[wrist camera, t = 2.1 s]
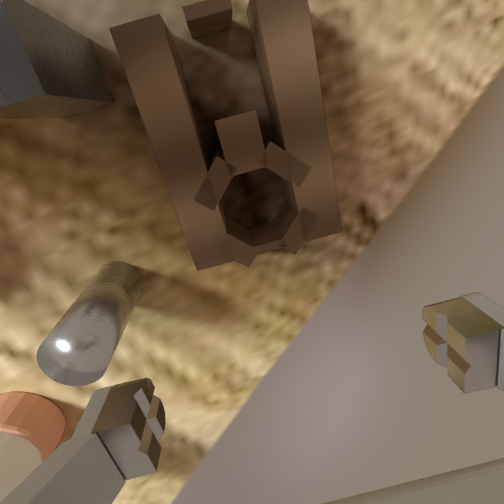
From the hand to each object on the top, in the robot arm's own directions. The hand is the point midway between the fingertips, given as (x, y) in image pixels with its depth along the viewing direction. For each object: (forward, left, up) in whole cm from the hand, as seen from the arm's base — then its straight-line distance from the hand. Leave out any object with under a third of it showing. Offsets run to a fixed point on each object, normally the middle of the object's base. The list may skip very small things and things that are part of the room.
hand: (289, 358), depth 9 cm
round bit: (+3, -11, -16) cm, 20 cm away
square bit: (-11, -8, -16) cm, 21 cm away
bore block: (-5, +1, -16) cm, 17 cm away
